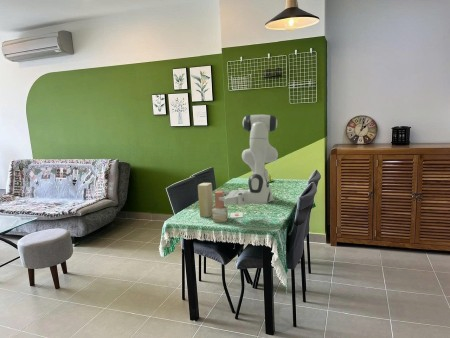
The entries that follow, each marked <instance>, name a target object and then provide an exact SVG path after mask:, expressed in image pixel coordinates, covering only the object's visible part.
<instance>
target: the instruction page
mask: <svg viewBox="0 0 450 338" xmlns="http://www.w3.org/2000/svg"><path fill="white" fill-rule="evenodd" d="M229 216H230V217H229V218H231V219H236V218H244V213H243V211H238V212H230V215H229Z"/></svg>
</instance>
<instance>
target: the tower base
mask: <svg viewBox="0 0 450 338" xmlns="http://www.w3.org/2000/svg"><path fill="white" fill-rule="evenodd" d="M212 214H213V215H212V222H213V223H227V221H228V218H229V214H228V205H224V207H223V209H217V208H215V205H213V209H212Z"/></svg>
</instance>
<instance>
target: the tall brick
mask: <svg viewBox="0 0 450 338" xmlns="http://www.w3.org/2000/svg"><path fill="white" fill-rule="evenodd" d="M223 193H224V190H216V191H215V192H214V194H213V195H214V206H215V208H217V209H223V207H224V206H225V201H222V200H219V197H225V196H224V194H223Z"/></svg>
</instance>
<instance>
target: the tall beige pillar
mask: <svg viewBox="0 0 450 338" xmlns="http://www.w3.org/2000/svg"><path fill="white" fill-rule="evenodd" d="M213 195H214V194H213V183H212V182H202V183H199V184H198V185H197V196H198V207H199V217H201V218H211V216H213V214H212V209H213V208H214V197H213Z"/></svg>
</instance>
